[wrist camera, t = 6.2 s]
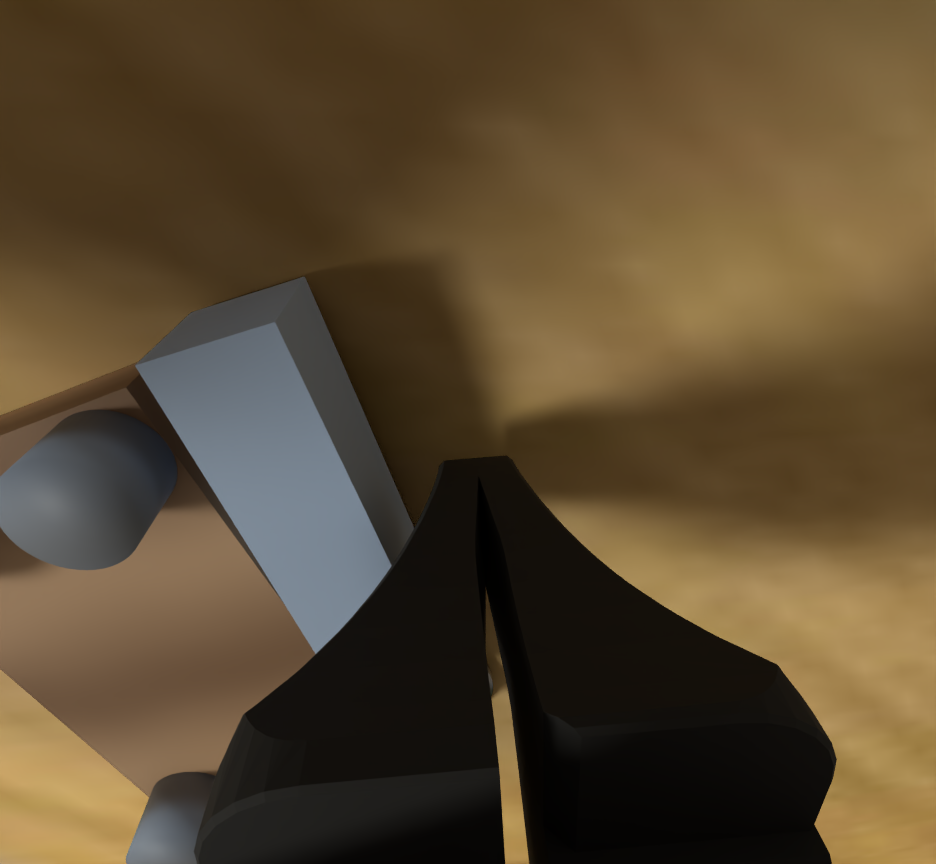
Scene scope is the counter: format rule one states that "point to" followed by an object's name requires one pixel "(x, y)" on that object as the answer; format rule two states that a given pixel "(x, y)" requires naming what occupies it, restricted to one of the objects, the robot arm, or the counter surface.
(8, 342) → the counter surface
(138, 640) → the board
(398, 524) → the hinged leg
